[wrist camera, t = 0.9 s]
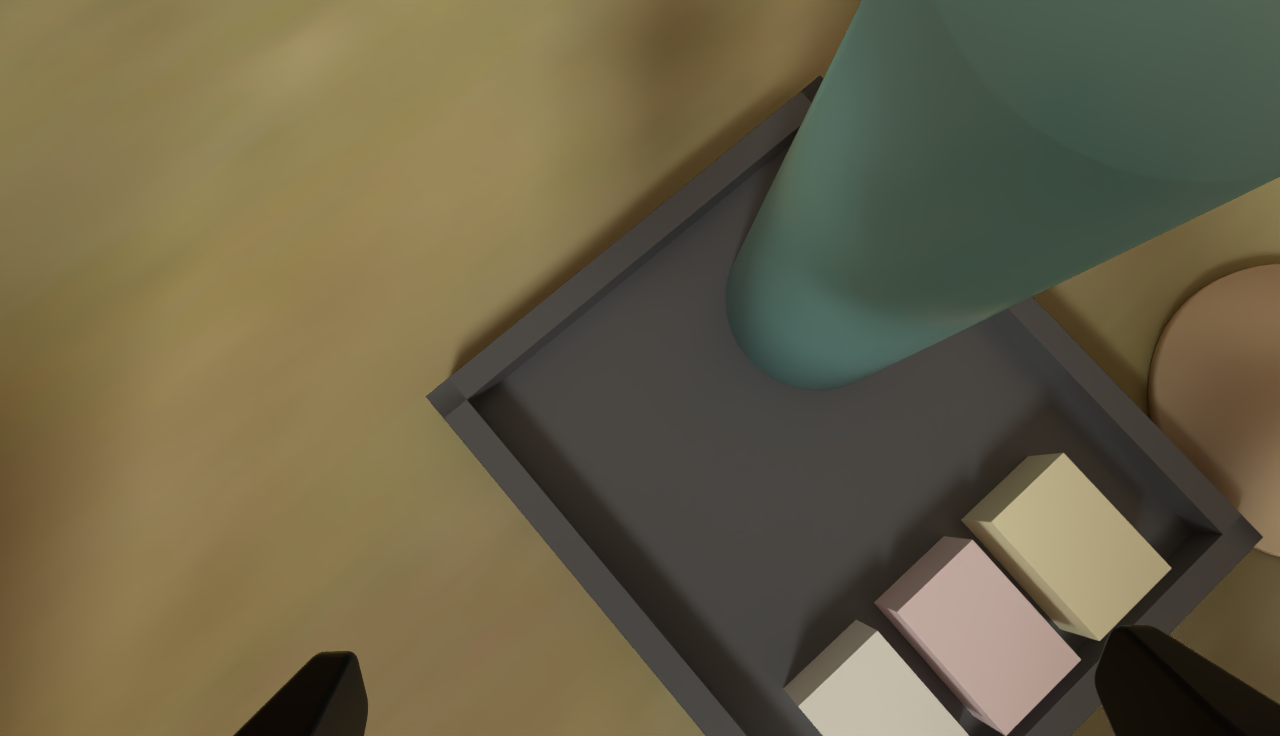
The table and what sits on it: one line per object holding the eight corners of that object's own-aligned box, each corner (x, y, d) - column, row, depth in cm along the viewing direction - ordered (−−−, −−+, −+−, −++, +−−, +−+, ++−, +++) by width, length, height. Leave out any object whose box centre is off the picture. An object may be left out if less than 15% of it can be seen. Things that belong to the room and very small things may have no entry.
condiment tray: (1221, 534, 22) (1285, 538, 20) (854, 906, 20) (882, 954, 18) (808, 101, 24) (826, 62, 22) (438, 403, 22) (419, 393, 20)
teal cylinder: (940, 311, 23) (1525, -26, 8) (810, 427, 22) (1190, 290, 7) (818, 181, 23) (1157, -353, 9) (688, 291, 23) (815, -89, 8)
